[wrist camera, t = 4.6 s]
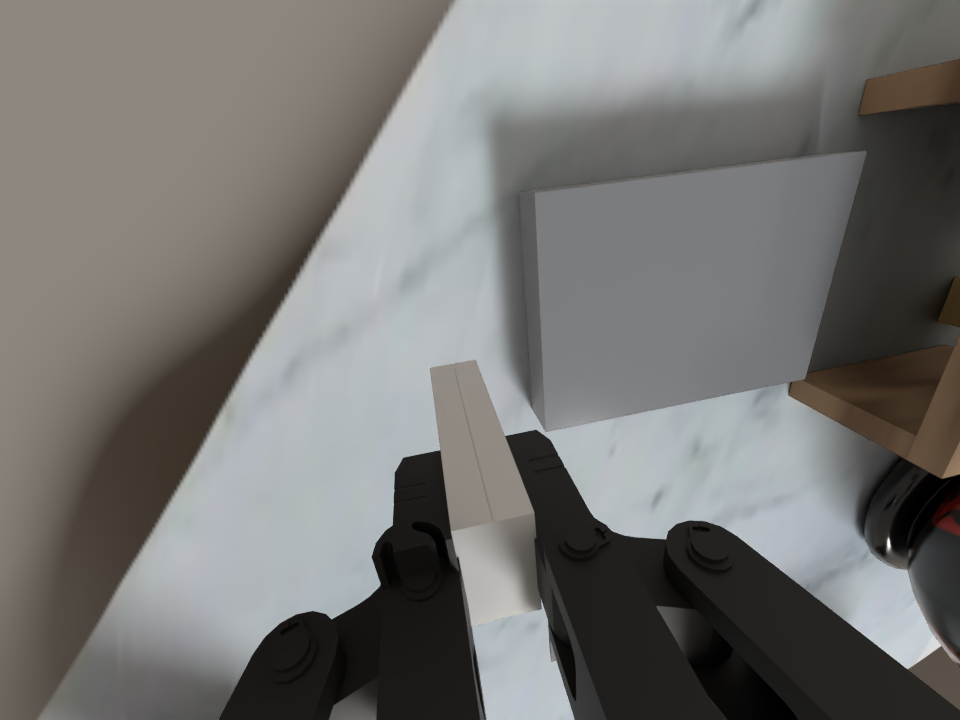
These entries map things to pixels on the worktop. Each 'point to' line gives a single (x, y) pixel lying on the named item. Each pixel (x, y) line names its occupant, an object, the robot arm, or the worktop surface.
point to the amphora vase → (922, 543)
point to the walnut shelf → (909, 376)
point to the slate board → (679, 283)
